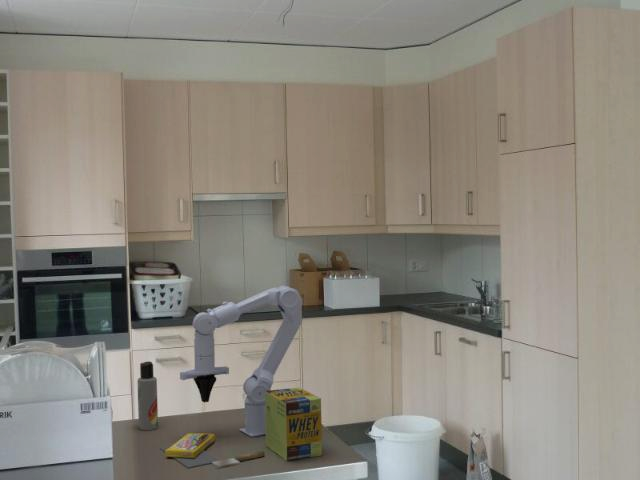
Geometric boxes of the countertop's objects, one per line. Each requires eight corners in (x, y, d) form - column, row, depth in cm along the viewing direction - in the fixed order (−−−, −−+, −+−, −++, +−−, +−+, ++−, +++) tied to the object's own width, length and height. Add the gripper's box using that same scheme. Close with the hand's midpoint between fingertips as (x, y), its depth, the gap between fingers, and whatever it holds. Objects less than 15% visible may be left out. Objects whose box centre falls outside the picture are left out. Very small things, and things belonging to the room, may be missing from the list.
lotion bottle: (162, 426, 240) (160, 361, 239) (148, 431, 235) (146, 365, 234) (148, 424, 243) (146, 359, 242) (134, 429, 238) (132, 363, 237)
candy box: (194, 450, 208) (164, 450, 210) (194, 458, 208) (165, 458, 210) (214, 432, 224) (187, 432, 226) (215, 440, 224) (187, 440, 226)
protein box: (286, 461, 206) (285, 403, 205) (265, 445, 220) (264, 390, 219) (323, 455, 210) (322, 398, 210) (299, 440, 224) (298, 386, 224)
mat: (189, 442, 224) (189, 441, 224) (220, 461, 207) (220, 460, 207) (159, 448, 219) (159, 447, 219) (187, 468, 202) (187, 467, 202)
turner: (259, 454, 213) (259, 448, 212) (267, 458, 209) (266, 452, 209) (212, 464, 205) (211, 458, 205) (218, 468, 202) (218, 463, 202)
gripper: (221, 349, 235) (221, 395, 236) (175, 355, 227) (176, 402, 228) (232, 353, 229) (232, 400, 230) (185, 359, 221) (186, 407, 222)
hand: (205, 401), depth 228 cm, fingers closed
